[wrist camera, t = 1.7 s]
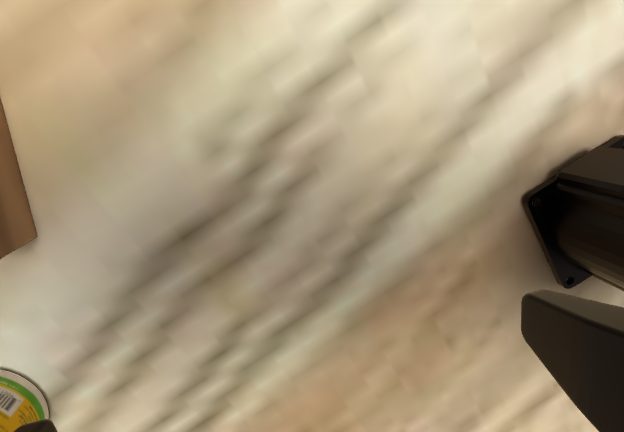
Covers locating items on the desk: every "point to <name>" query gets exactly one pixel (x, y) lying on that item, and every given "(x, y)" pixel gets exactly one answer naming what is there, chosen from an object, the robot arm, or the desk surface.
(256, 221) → the desk surface
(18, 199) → the walnut base block
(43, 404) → the supplement bottle
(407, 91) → the desk surface
